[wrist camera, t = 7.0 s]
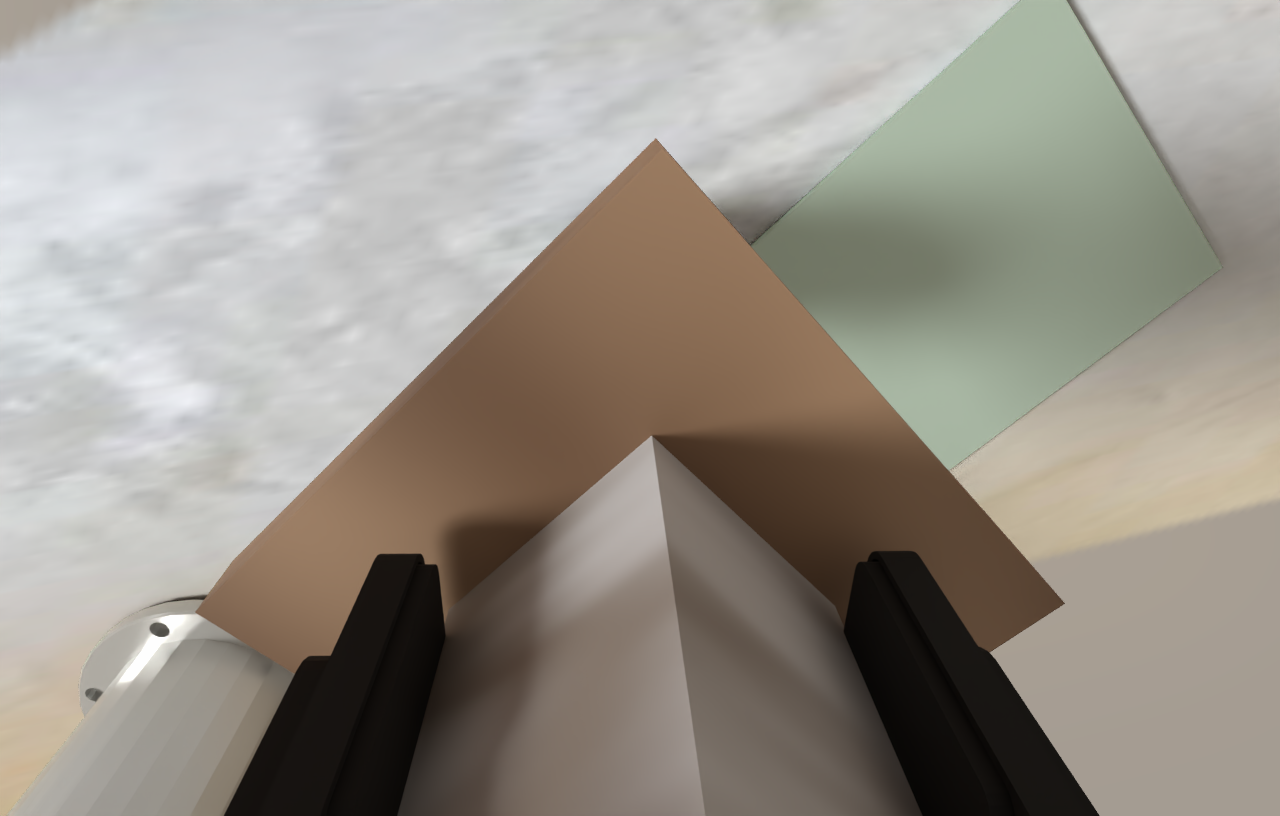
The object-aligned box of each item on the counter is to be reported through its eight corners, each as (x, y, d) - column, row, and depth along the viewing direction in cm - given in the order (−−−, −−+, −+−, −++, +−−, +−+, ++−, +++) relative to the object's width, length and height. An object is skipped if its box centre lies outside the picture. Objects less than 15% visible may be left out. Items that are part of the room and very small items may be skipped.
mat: (933, 474, 34) (937, 479, 33) (738, 256, 29) (739, 259, 29) (1215, 264, 30) (1223, 267, 30) (1045, -23, 25) (1052, -24, 25)
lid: (630, 822, 14) (653, 1367, 8) (232, 560, 11) (-182, 1118, 5) (1023, 555, 12) (1445, 1043, 6) (656, 137, 9) (767, 283, 3)
